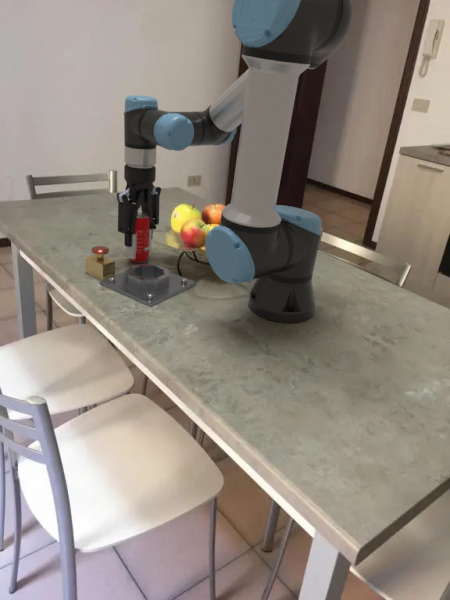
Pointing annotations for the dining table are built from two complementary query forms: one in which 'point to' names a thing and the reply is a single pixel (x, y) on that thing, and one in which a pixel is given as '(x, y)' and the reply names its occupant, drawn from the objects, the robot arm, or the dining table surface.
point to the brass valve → (100, 263)
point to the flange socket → (148, 283)
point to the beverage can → (142, 237)
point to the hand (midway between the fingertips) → (138, 254)
